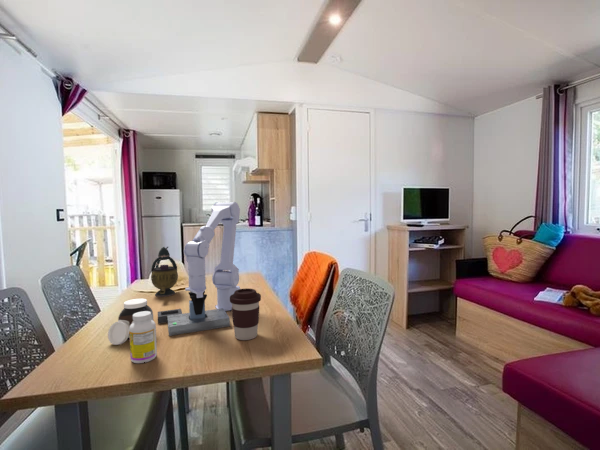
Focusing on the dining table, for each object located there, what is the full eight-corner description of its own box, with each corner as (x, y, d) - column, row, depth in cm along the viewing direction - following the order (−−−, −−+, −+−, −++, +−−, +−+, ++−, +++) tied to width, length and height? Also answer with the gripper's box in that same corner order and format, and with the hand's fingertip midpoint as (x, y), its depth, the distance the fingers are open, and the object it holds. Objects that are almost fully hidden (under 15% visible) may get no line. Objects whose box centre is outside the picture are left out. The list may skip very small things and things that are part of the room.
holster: (181, 314, 127) (181, 308, 127) (182, 320, 121) (182, 313, 121) (157, 318, 123) (157, 311, 123) (157, 323, 118) (157, 316, 117)
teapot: (179, 288, 167) (177, 244, 166) (177, 302, 144) (175, 250, 142) (153, 290, 164) (152, 245, 162) (147, 305, 140) (145, 251, 139)
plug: (204, 320, 118) (203, 298, 118) (205, 323, 115) (204, 300, 115) (189, 322, 116) (189, 300, 115) (190, 325, 113) (189, 302, 113)
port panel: (223, 315, 125) (223, 307, 125) (229, 326, 114) (229, 317, 114) (167, 323, 117) (167, 314, 117) (168, 336, 106) (168, 326, 106)
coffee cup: (266, 332, 109) (265, 288, 108) (252, 344, 99) (251, 296, 98) (240, 328, 112) (239, 286, 111) (224, 340, 103) (223, 293, 102)
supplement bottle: (136, 353, 94) (134, 310, 93) (160, 352, 94) (158, 309, 93) (126, 365, 87) (124, 318, 86) (151, 363, 88) (149, 317, 87)
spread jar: (156, 330, 111) (155, 297, 110) (146, 344, 100) (145, 307, 99) (118, 333, 109) (116, 299, 108) (104, 347, 98) (102, 309, 97)
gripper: (183, 272, 120) (184, 308, 120) (186, 280, 106) (188, 320, 107) (203, 270, 123) (204, 305, 123) (208, 278, 109) (209, 317, 110)
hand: (198, 312), depth 116 cm, fingers closed on plug, 3 cm apart
